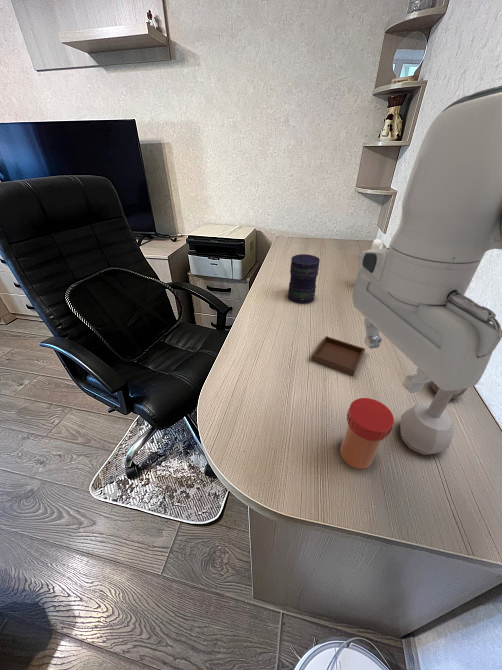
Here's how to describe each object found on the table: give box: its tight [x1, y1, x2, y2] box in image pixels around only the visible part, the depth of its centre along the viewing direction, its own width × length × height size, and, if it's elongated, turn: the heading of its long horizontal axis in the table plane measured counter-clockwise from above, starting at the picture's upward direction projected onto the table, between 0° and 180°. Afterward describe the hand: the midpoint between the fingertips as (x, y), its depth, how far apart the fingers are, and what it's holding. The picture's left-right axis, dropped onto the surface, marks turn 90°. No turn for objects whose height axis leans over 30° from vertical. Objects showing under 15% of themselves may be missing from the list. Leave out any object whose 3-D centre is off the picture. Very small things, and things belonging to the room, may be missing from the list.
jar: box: [339, 424, 383, 470], centre depth 49 cm, size 6×6×11 cm
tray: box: [311, 335, 366, 377], centre depth 75 cm, size 11×10×2 cm
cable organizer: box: [370, 238, 385, 250], centre depth 134 cm, size 5×10×10 cm, turn 49°
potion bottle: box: [400, 388, 463, 456], centre depth 50 cm, size 9×9×18 cm
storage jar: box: [287, 253, 321, 305], centre depth 100 cm, size 10×10×15 cm
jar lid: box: [346, 397, 395, 441], centre depth 46 cm, size 7×7×2 cm
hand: (389, 365), depth 40 cm, fingers open, 8 cm apart
